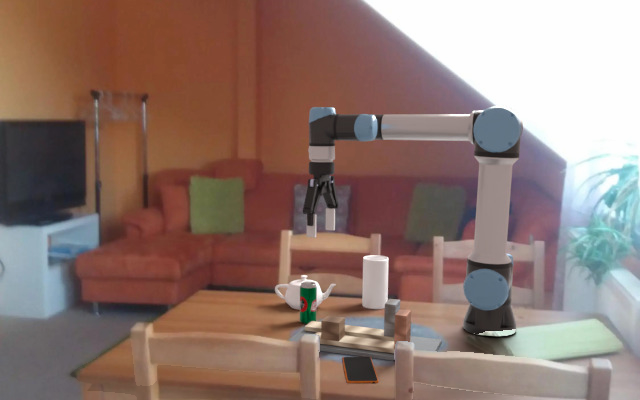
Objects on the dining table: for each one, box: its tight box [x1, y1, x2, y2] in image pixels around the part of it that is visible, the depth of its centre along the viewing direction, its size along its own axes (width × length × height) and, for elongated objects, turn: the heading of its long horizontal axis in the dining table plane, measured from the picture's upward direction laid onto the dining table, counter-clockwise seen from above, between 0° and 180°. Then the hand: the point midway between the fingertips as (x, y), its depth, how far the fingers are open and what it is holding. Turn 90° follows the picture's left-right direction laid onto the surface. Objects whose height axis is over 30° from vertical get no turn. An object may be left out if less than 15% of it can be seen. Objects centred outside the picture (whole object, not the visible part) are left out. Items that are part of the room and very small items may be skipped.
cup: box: [361, 254, 389, 310], centre depth 223 cm, size 8×8×16 cm
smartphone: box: [342, 356, 380, 384], centre depth 167 cm, size 8×17×1 cm, turn 2°
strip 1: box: [304, 298, 401, 341], centre depth 191 cm, size 26×6×10 cm, turn 70°
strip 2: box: [316, 308, 412, 353], centre depth 181 cm, size 26×6×10 cm, turn 70°
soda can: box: [299, 281, 318, 325], centre depth 205 cm, size 5×5×12 cm
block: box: [320, 315, 346, 341], centre depth 184 cm, size 5×5×5 cm
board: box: [288, 326, 443, 361], centre depth 186 cm, size 39×18×1 cm, turn 70°
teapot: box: [274, 274, 337, 311], centre depth 222 cm, size 20×12×10 cm, turn 84°
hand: (321, 233), depth 200 cm, fingers open, 13 cm apart
